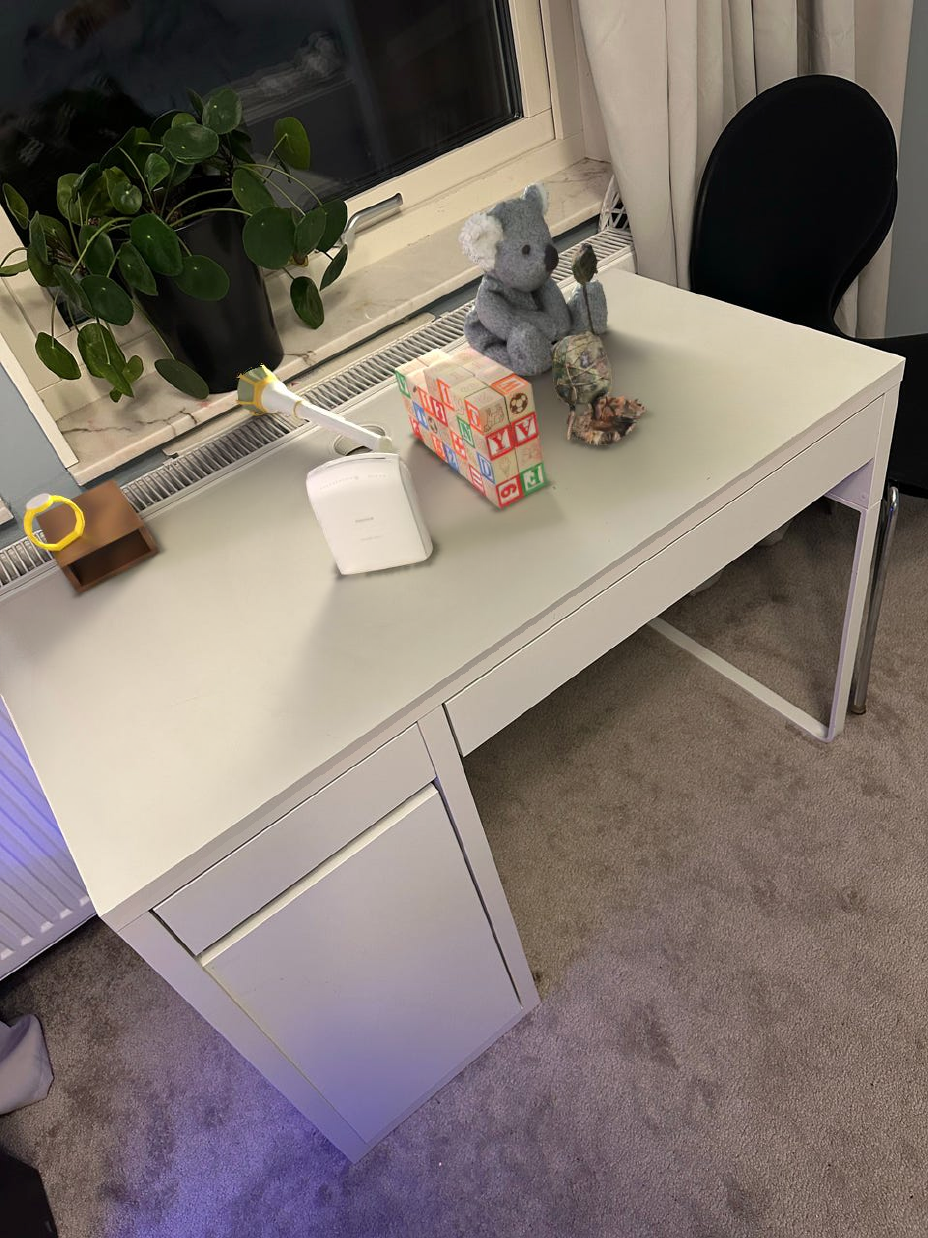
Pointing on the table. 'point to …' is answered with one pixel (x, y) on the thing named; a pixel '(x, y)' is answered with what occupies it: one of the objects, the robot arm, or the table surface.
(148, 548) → the shelf
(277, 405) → the light stick
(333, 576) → the table surface
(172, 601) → the table surface
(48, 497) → the watch
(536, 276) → the koala plush
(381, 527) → the photo printer
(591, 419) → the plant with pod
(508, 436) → the stack of blocks
